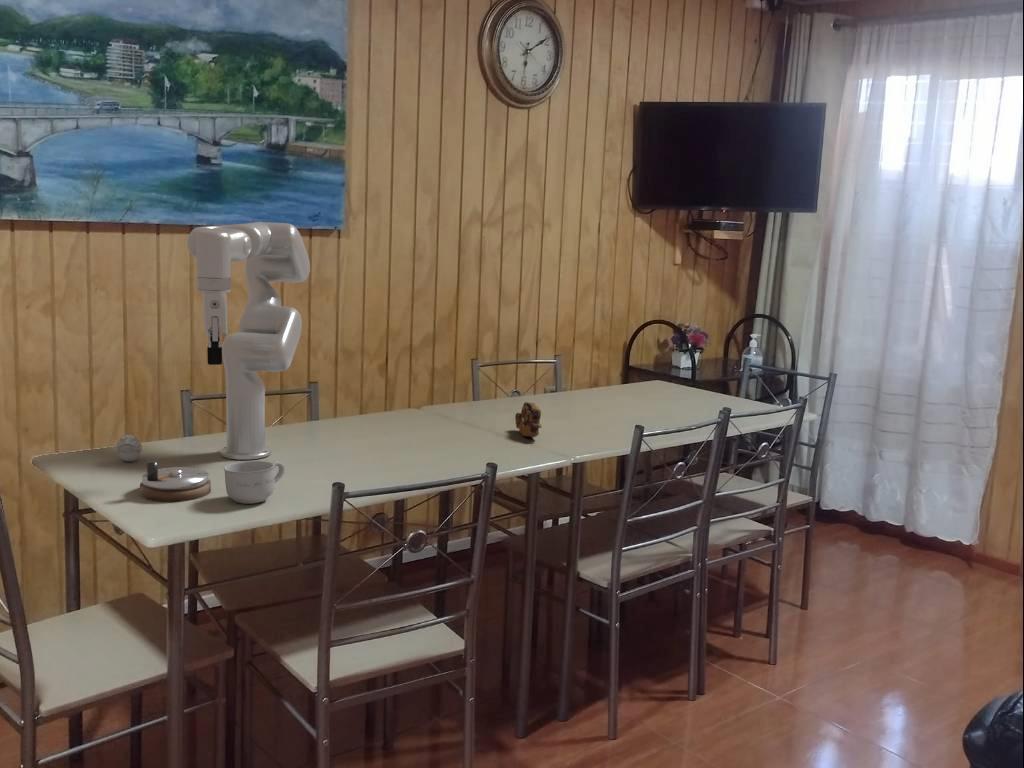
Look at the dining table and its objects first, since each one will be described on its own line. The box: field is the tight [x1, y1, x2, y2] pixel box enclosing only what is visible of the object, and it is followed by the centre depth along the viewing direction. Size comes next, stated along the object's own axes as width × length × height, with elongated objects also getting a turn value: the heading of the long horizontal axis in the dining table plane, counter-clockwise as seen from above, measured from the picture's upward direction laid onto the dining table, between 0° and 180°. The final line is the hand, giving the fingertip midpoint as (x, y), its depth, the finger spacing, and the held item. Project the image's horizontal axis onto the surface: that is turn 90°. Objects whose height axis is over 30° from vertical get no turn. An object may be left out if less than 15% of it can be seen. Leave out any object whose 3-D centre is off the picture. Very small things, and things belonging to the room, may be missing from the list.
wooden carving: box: [514, 401, 542, 438], centre depth 289 cm, size 16×5×10 cm, turn 23°
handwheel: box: [141, 460, 209, 491], centre depth 221 cm, size 14×14×6 cm
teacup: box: [223, 460, 285, 505], centre depth 219 cm, size 14×11×8 cm
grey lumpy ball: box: [115, 434, 143, 463], centre depth 244 cm, size 6×7×7 cm
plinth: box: [139, 478, 212, 503], centre depth 222 cm, size 15×15×2 cm
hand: (214, 363), depth 230 cm, fingers closed
